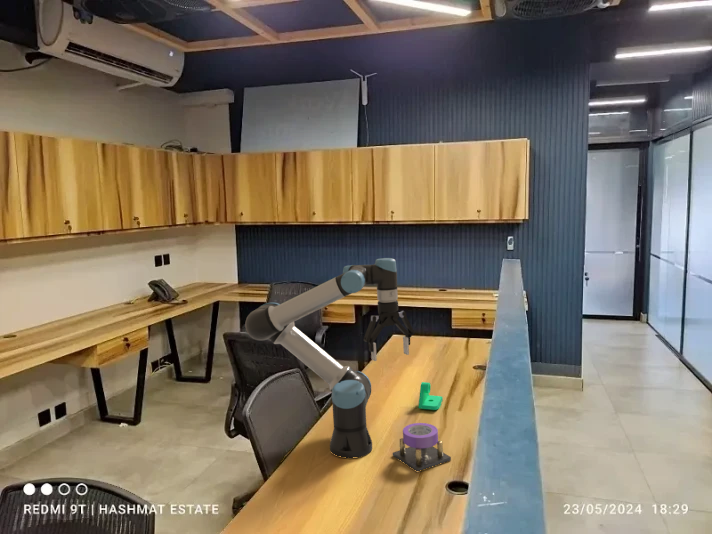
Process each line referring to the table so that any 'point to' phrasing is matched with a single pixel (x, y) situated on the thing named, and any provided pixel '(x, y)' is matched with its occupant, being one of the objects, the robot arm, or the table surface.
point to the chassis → (421, 456)
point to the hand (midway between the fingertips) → (390, 357)
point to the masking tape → (420, 435)
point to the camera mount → (428, 398)
